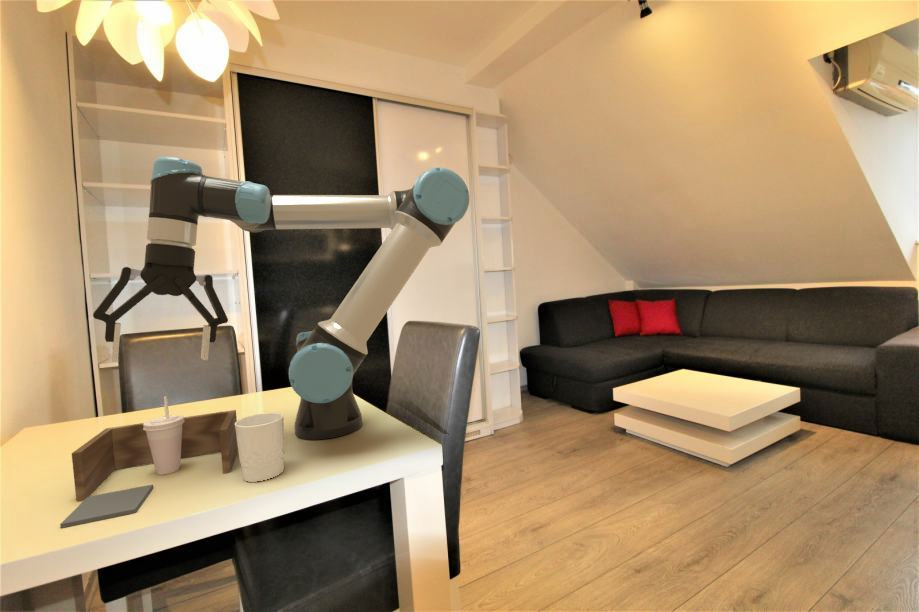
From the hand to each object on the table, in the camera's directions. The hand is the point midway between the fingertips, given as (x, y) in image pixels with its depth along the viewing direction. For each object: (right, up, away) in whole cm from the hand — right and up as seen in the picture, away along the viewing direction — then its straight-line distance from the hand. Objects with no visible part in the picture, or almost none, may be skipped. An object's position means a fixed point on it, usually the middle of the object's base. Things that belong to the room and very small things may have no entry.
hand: (161, 360), depth 78 cm
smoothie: (0, -21, +2) cm, 21 cm away
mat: (0, -22, -11) cm, 24 cm away
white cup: (+20, -20, -2) cm, 28 cm away
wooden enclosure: (0, -21, +2) cm, 21 cm away
